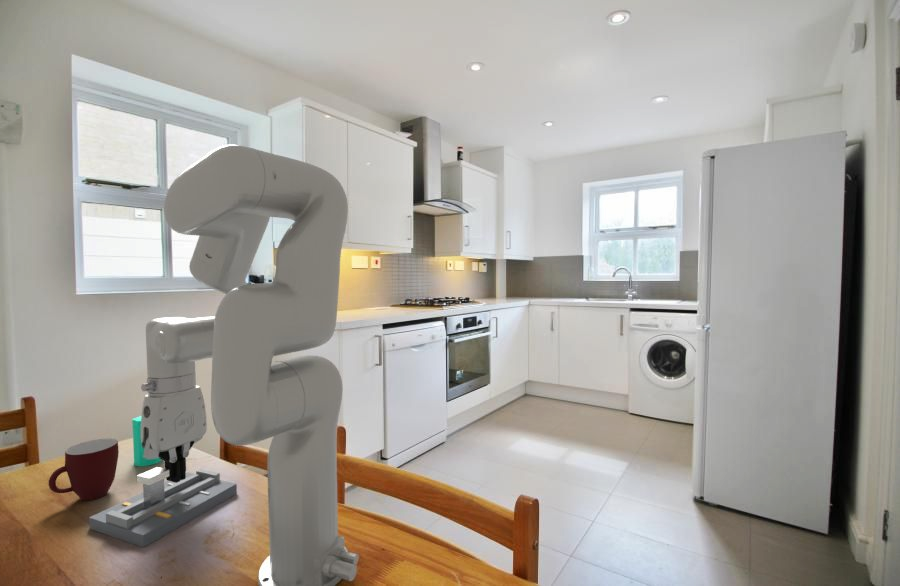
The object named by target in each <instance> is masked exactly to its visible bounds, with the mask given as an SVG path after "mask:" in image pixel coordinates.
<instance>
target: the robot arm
mask: <svg viewBox="0 0 900 586" xmlns="http://www.w3.org/2000/svg"><path fill="white" fill-rule="evenodd" d="M347 197H348V196H347V194H346V191H345V189H344V187H343V185H342V184H341V182H340V181H339V180H338V179H337V178H336V177H335V176H334V175H333V174H332V173H330V172H329V171H327V170H326V169H323V168H321V167H320V166H316V165H314V164H311V163H308V162H306V161H301V160H298V159H294V158H291V157H287V156H283V155H278V154H274V153H272V152H269V151H268V152H267V151H263V150H260V149H256V148H252V147H248V146H243V145H237V144H226V145H222V146H219V147H217V148H214V149H213V150H211V151H209V152H208V153H207V154H206V155H205V156H203V157H202V158H200V159H199V160H197V161H196V162H194V163H193V164H191V165H190V166H189V167H187V168H186V169H185V170H184V171H182V172H181V173H180V174H178V176H177V177H176V178H175V179H174V180H173V182H172V183H171V185H170V186H169V188H168V190H167V193H166V195H165V197H164V203H163V213H164V218H165V221H166V223H167V225H168V226H169V228H170V229H171V230H172V231H174V232H176V233H178V234H181V235H185V236H186V235H187V236H198V239H197V242H196V244H195V248H194V251H193V254H192V256H191V258H190V259H191V260H190V262H189V267H188V268H189V273H190V274H191V275H192V277H193V278H194V279H195V280H196V281H198V282H199V283H201V284H202V285H204V286H206V287H208V288H209V289H212V290H215V291H218V292H220V293H222V294H225V295H224V297H223V298H222V299H221V300H220V303H219V305H218V307H217V308H216V309H217V310H216V312H215V316H213V315H212V316H204V317H193V318H188V317H185V316H171V317H170V316H169V317H168V316H167V317H159V318H158V317H157V318H153V319H150V320H149V321H148V322H147V323H146V326H145V346H146V347H145V349H146V373H147V374H146V375H147V378H146V383H143V384H141V386H140V387H141V391H142V392H147V394H145V395H144V398H143V403H142V409H141V415H140V416H141V444H142V447H143V448H145V449H144V454H143V458H145V459H156V458H160V459H161V460H162V461H164V469H168V470H169V477H166V478H165V479H166V481H172V482H176V483H177V482H179V481H180V480H184V479H185V478H186V473H187V472H186V471H187V461H186V460H187V459H186V458H188V457H189V455H190V451H191V449H192V447H193V446H194V444H196V443H197V442H199V441H201V440H202V439H203V437H204V436H205V435H206V433H207V431H208V422H207V411H206V404H205V399H204V395H203V392H202V389H201V386H200V385H197V380H196V379H197V378H196V362H197V361H202V360H206V359H211V358H212V359H211V383H210V384H211V387H210V389H211V391H210V399H211V400H210V405H211V406H210V407H211V408H210V411H211V416H212V422H213V425H214V428H215V430H216V433H217V434H218V435H219V437H220V438H221V439H222V441H224V442H225V443H227V444H229V445H232V446H238V447H239V446H240V447H242V446H243V447H244V446H248V445H252V444H257V443H259V442H262V441H265V440H268V439H270V438H272V439H271V442H270V446H269V449H268V453H267V459H266V460H267V465H266V467H267V470H266V472H267V497H268V498H267V499H268V501H267V503H268V504H267V505H268V506H267V507H268V536H269V537H268V540H269V546H268V547H269V556H266V559H265V560H264V561H262V563H261V566H260V567H259V570H258V575H257V576H258V577H257V582H258V586H336V585H337V584H338V583H340V582H341V580H345V581H348V582H353V580H355V578H356V575H357V572H358V566H357V564H358V562H359V558H360V556H359V555H360V554H358V553H355V552H351V551H348V548H347V547H346V546H345V537H344V536H340V535H339V524H338V523H339V520H338V517H339V515H338V513H339V511H338V472H337V471H338V470H337V469H338V466H337V465H338V464H337V463H338V457H337V456H338V453H337V452H338V451H337V448H338V447H337V446H338V444H337V441H338V439H337V437H338V423H339V416H340V410H341V406H342V399H343V380H342V376H341V373H340V371H339V369H338V367H337V366H336V365H335V364H334V363H333V362H332V361H330V360H329V359H327V358H325V357H323V356H321V355H320V356H319V355H300V356H295V357H290V358H286V359H281V360H280V359H279V360H276V361H273V359H274V357H276V356H282V355H287V354H291V353H296V352H302V351H306V350H311V349H314V348H318V347H321V346H323V345H325V344H327V343H328V342H329V341H330V340H331V339H332V337H333V336H334V334H335V331H336V330H335V329H336V325H337V316H338V306H339V305H338V302H339V301H338V300H339V288H340V286H339V285H340V272H341V268H340V267H341V257H342V256H341V254H342V247H343V241H344V237H345V235H346V234H345V233H346V229H347V224H348V216H349V215H348V214H349V207H348V206H349V204H348V199H347ZM271 218H278V219H279V218H280V219H288V220H290V221H291V220H292V221H293V222H292V224H291V225H290V226H289V227H288V229H287V230H286V231H285V233H284V235H283V236H282V238H281V240H280V242H279V244H278V246H277V250H276V256H275V272H274V273H275V274H274V279H273V281H272V282H269V283H266V282H265V283H264V282H263V283H247V281H246V279H247V277H248V274H249V271H250V269H251V266H252V264H253V262H254V259H255V257H256V254H257V252H258V250H259V247H260V245H261V243H262V239H263V237H264V235H265V232H266V229H267V227H268V225H269V222H270V219H271ZM162 461H161V462H162Z"/></svg>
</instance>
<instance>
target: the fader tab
mask: <svg viewBox="0 0 900 586" xmlns="http://www.w3.org/2000/svg"><path fill="white" fill-rule="evenodd" d="M166 477H169V470H168V469H165V467H164V468H163V467H158V466H156V467H153V468H152V469H149V470H146V471H145V472H141V473H139V474H137V475H136V481H137V482H136V483H138V484H139V483H140V484H142V491H143V492H142V493H143V496H144V507H146V508H150V507H152V506H154V505H156V504H158V503H160V502H162V501H164V500H165V493H164V483H165V479H166Z"/></svg>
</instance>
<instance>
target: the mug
mask: <svg viewBox="0 0 900 586" xmlns="http://www.w3.org/2000/svg"><path fill="white" fill-rule="evenodd" d="M64 456H65V457H64V465H63V466H61V467H59V468H56V469H55V470H54V471H53V472H52V474H51V475H50V477H49V479H48V487H49V489H50V490H51V491H52V492H53V493H55V494H66V493H71V492H73V493H74V494H75V495H76V496H77V497H78V498H79V499H81V500H82V501H84V502H85V501H86V502H89V501H94V500H98V499H100V498H103V497H105V496H106V495H107V493H108V492H109V490H110V489H111V486H112V485H113V483H114V481H115V477H116V472H117V466H118V461H119V460H118V459H119V441H118V440H117V439H115V438H100V439H99V438H98V439H92V440H88V441H85V442H80V443H78V444H75V445H73V446H71V447H69V448H67V449H66V450H65V452H64ZM63 473H66V474H67V477H68V481H69V483H70V487H66V488H59V487H58V486H57V484H56V483H57V479H58V478H59V476H61V474H63Z"/></svg>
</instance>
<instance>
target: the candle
mask: <svg viewBox="0 0 900 586" xmlns="http://www.w3.org/2000/svg"><path fill="white" fill-rule="evenodd" d="M141 416H142V415H140V416H137V417H134V418H132V419H131V420H132V421H131V422H132V440H133V441H132V442H133V443H132V444H133V448H132V449H133V464H134V466H136V467H147V466H151V465H155V464H158V463H160V462H162V460H161V459H160V458H156V459H145V458H143V454H144V449H145V448H143V447H142V444H141Z"/></svg>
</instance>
